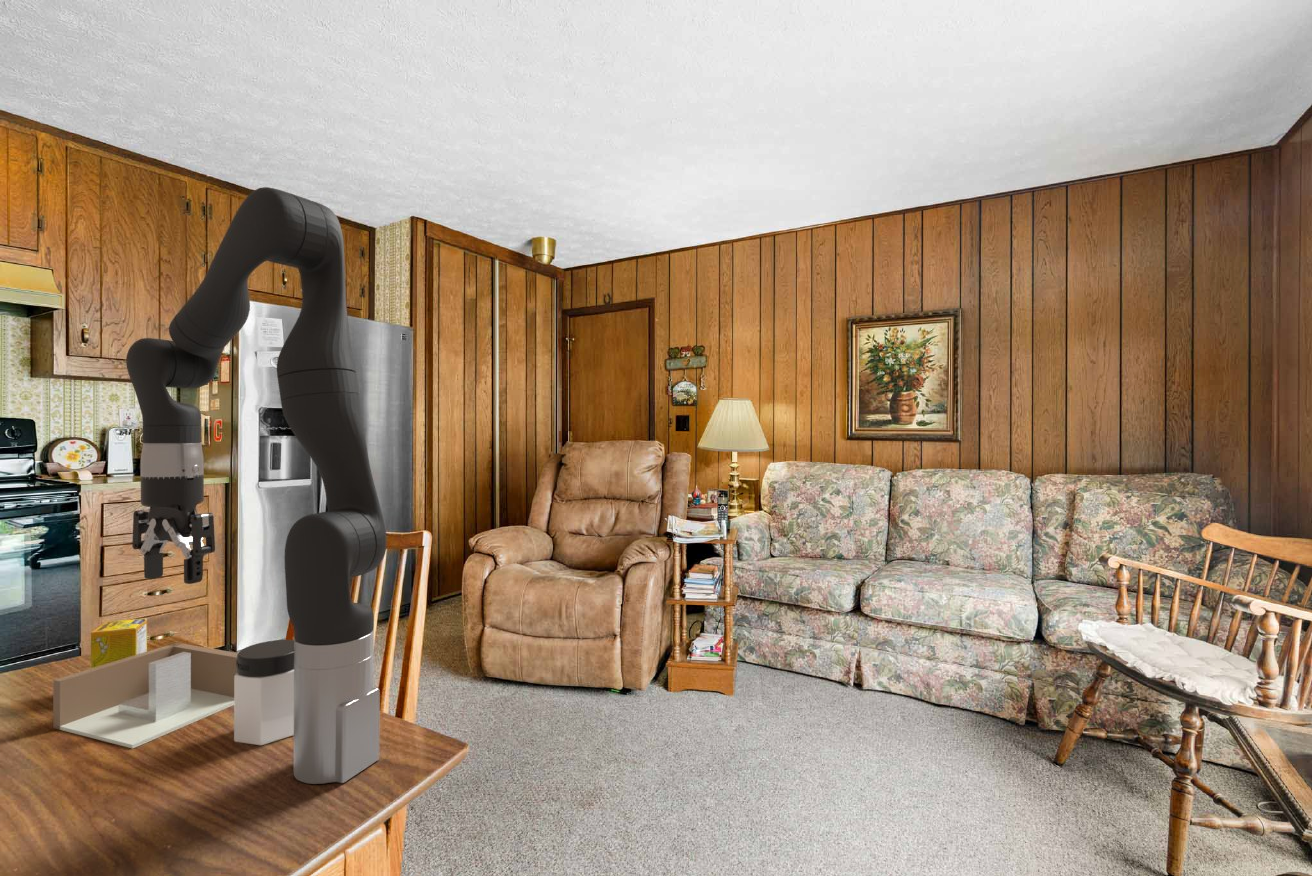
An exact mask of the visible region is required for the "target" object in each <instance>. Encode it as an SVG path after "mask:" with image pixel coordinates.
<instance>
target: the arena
mask: <svg viewBox="0 0 1312 876" xmlns="http://www.w3.org/2000/svg"><path fill="white" fill-rule="evenodd" d="M182 652H188V653H191V708H189V709H187V710H184V711H182V712H179V713H177V714H174V715H172V716H170V717H167V718H165V719H162V720H160V721H157V722H153V721H148V720H144V719H140V718H135V717H131V716H126V715H122V714H119V704H120V703H123V702H125V701H128V700H131V699H134V698H136V697H139V696H142V695H144V694H147V693H149V663H151V662H154V661H157V660H160V659H163V658H166V657H170V656H173V655H176V654H179V653H182ZM238 653H239V652H234V651H228V650H224V649H223V650H222V649H217V648H211V647H204V646H199V645H193V644H187V643H183V642H182V643H181V642H174V643H170V644H167V645H164V646H162V647H161V646H160V647H158V648H157V647H156V648H154V649H152V650H147V652H144V653H141V654H137V655H134V656H131V657H127V658H124V659H121V660H118V661H114V662H111V663H108V664H104V665H101V666H98V667H95V668H91V667H90V668H89V669H84V670H82V671H78V672H76V673H72V674H68V675H66V676H61V677H58V678H56V679H53V681H52V682H53V683H52V685H53V686H52V687H53V689H52V690H53V692H52V693H53V695H52V696H53V697H52V698H53V701H52V704H53V705H52V707H53V709H52V710H53V714H52V715H53V716H52V717H53V719H52V720H53V721H52V722H53V723H52V725H53V726H52V727H53V728H52V729H56V730H60V731H64V732H68V733H71V734H75V735H78V736H82V737H87V738H90V739H95V740H98V741H101V742H105V743H110V744H114V745H116V746H117V745H118V746H120V747H121V746H122V747H125V748H129V749H135V748H137V747H140V746H141V745H144V744H146V743H149V742H151V741H153V740H156V739H158V738H161V737H162V736H165V735H167V734H170V733H173V732H174V731H176V730H179V729H181V728H184V727H187V726H188V725H190V724H193V723H195V722H197V721H200V720H203V719H205V718H207V717H209V716H211V715H213V714H217V713H218V712H221V711H223V710H226V709H228V708H230V707H233V706H234V676H235V675H236V674H237V667H236V662H237V654H238Z"/></svg>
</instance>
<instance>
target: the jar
mask: <svg viewBox="0 0 1312 876" xmlns="http://www.w3.org/2000/svg"><path fill="white" fill-rule="evenodd" d="M237 653H238V654H237V662H236V667H237V674H236V675H235V676H234V705H233V706H234V707H233V722H234V723H233V741H234V742H235V743H241V744H242V743H243V744H248V745H249V744H250V745H253V746H255V745H256V746H265V745H267V744H270V743H274V742H277V741H280V740H283V739H286V738H289V737H294V639H275V640H269V641H264V642H259V643H255V644H252V645H248V646H247V647H244V648H242V649H240V650H239V651H238V652H237Z"/></svg>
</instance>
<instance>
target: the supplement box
mask: <svg viewBox="0 0 1312 876" xmlns="http://www.w3.org/2000/svg"><path fill="white" fill-rule="evenodd" d="M147 651H148V619H147V617H145V618H144V617H143V618H133V619H126V620H124V619H122V620H112V621H105V622H103V623H102V624H101V625H99V626H98V627H97V628H95V629H94V630H92V631H91V632H90V669H91V668H95V667H98V666H101V665H104V664H108V663H111V662H114V661H118V660H121V659H124V658H127V657H131V656H134V655H137V654H141V653H144V652H147Z"/></svg>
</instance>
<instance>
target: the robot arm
mask: <svg viewBox="0 0 1312 876" xmlns="http://www.w3.org/2000/svg"><path fill="white" fill-rule="evenodd" d="M341 227H342V226H341V223H340V221H339V218H338V216H337V215H336V214H335V212H334V211H333V210H332V209H330V208H329V207H328V206H326V205H324V204H322V203H319V202H317V201H314V200H311V199H308V198H306V197H303V196H299V195H297V194H293V193H292V192H291V193H290V192H287V191H285V190H280V189H277V188H274V187H267V186H264V187H259V188H256V189H254V190H253V191H252V192H251V193H249V194H248V195H247V196H246V198H245V199H244V200H243V201H242V203H241V204H240V205H239V207H238V209H237V211H236V212H235V214H234V216H233V218H232V220H231V222H230V223H229V226H228V228H227V230H226V232H225V234H224V236H223V238H222V240H221V241H220V243H219V246H218V248H217V250H216V252H215V255H214V256H213V258H212V259H213V260H212V261H211V264H210V266H209V268H208V270H207V272H206V274H205V275H204V277H203V279H202V281H201V283H200V284H199V285H198V288H197V289H195V291H194V293H193V294H192V295H191V296H190V297H189V298H188V300H187V301H186V302H185V304H184V305H183V306H182V307H181V308H180V309H179V311H178V312H177V313H176V314H175V316H174V317H173V318H172V320H171V321H170V324H169V326H168V334H169V337H170V338H171V339H170V340H169V339H163V338H162V339H161V338H155V337H154V338H153V337H144V338H140V339H138V340H136V341H135V342H133V343H132V344H131V346H130V347H129V349H128V351H127V353H126V360H125V361H126V369H127V373H128V376H129V378H130V382H131V383H132V384H131V385H132V386H133V387H132V388H133V390H134V393H135V395H136V398H137V402H138V404H139V408H140V412H141V416H142V417H141V418H142V448H141V454H140V504H141V506H143V507H146V509H141V510H140V509H139V510H135V511H134V512H133V515H132V516H133V518H132V541H131V542H132V543H131V546H132V549H133V550H139V551H140V554H142V555H143V572H144V573H143V574H144V579H146V580H154V579H158V578H162V577H163V575H164V552H162V551H163V550H164V548H165V546H166V544H167V543H169V542H173V544H174V546H175V547H176V548H179V549H180V551H181V552H182V555H183V556H184V559H183V582H184V583H185V584H187V585H192V584H197V583H200V582H202V580H203V577H204V569H203V568H204V557H205V556H207V554H212V553H215V551H216V542H215V521H214V520H215V518H214V514H213V513H212V512H204V513H198V510H197V506H198V505H199V504H201V503H203V502H204V499H205V495H204V494H205V493H204V491H205V490H204V488H205V485H204V483H205V482H204V481H205V479H204V476H205V475H204V474H205V473H204V471H205V470H204V469H205V468H204V466H205V465H204V464H205V463H204V452H203V447H202V446H203V445H202V413H201V411H200V408H198V407H197V406H195V405H192V404H188V403H185V402H179V401H177V400H175V399H174V398H172V396H171V394H170V393H169V391H168V388H176V389H177V388H178V389H198V388H201V387H204V386H207V385H208V384H209V383H210V382H211V381H213V379H214V378H215V375H216V372H217V369H218V365H219V363H220V360H221V357H222V354H223V353H224V349H225V347H226V346H227V345H228V344H229V343H230V342H231V341H232V340H233V338H235V336H236V335H237V334H238V333H239V332H240V330H241V329H243V327H244V325H245V324H246V322H247V321H248V318H249V314H250V311H251V302H250V292H249V285H248V283H249V281H248V280H249V278H250V276H251V274H252V273H253V272H254V270H255V271H256V269H257V268H258V267H259V266H261V265H262V264H263V263H265V262H270V263H272V264H277V265H281V266H286V267H292V268H296V269H297V270H298V272H299V276H300V284H301V293H302V294H301V297H302V298H301V300H302V301H301V309H300V312H299V315H298V317H297V319H296V321H295V323H294V325H293V327H292V329H291V330H290V332H289V334H288V336H287V338H286V339H285V342H284V343H283V345H282V348H281V350H280V352H279V354H278V358H277V361H276V375H277V384H278V390H279V396H280V403H281V404H280V405H281V410H282V414H283V416H284V417H283V418H284V419H285V421H286V423H287V425H288V427H289V429H290V430H291V431H292V433H293V434H294V436H295V437H296V439H297V440H298V441H299V443H300V444H301V446H302V447H303V450H305V451H306V453H307V454H308V456H309V457H310V458H311V460H312V462H313V463H314V464H315V466H316V468H317V471H318V472H319V475H320V476H321V477H320V478H321V479H322V483H323V484H322V485H323V488H324V492H325V498H326V506H327V511H322V512H317V513H311V514H308V515H305V516H303V517H301V518H299V519H298V520H297V521H295V522H294V524H293V525H292V526H291V528H290V529H289V532H288V534H287V537H286V540H285V541H286V542H285V545H284V546H285V547H284V575H285V594H286V607H287V608H286V609H287V614H288V617H289V620H290V623H291V624H292V627H293V640H294V735H293V777H294V778H295V779H296V780H297V781H299V782H301V783H305V784H310V785H311V784H313V785H317V784H319V785H320V784H322V785H323V784H328V783H340V784H344V783H347V781H349V780H350V779H351V778H354V777H355V776H356V775H358V774H359V773H361V772H362V771H363V770H365V769H367V768H368V767H369V766H370V767H371V765H373V764H374V763H376V762H377V761H378V760H380V705H381V703H380V702H381V701H380V697H381V696H380V695H381V693H380V688H377V687H374V650H375V649H374V647H375V645H374V644H375V643H374V642H375V640H374V639H375V638H374V635H375V634H374V633H375V631H374V630H375V629H374V627H375V622H374V621H375V617H374V611H373V609H372V608H371V607H370V606H369V605H367V604H365V603H364V604H363V603H360V602H353V601H352V597H351V586H350V585H351V584H350V583H351V582H350V579H354V578H356V577H359V576H362V575H365V574H368V573H370V572H372V571H373V570H375V569H377V567H379V566H380V564H381V563H382V562H383V560H384V557H385V554H386V550H387V541H388V540H387V529H386V525H385V520H384V516H383V512H382V509H381V503H380V501H379V496H378V493H377V489H376V486H375V482H374V481H375V480H374V478H373V477H374V476H373V473H372V470H371V465H370V460H369V454H368V453H369V452H368V448H367V447H368V446H367V440H366V436H365V435H366V434H365V430H364V424H363V418H362V411H361V401H360V393H359V384H358V378H357V371H356V370H357V369H356V367H355V361H354V360H355V359H354V355H353V350H352V349H353V348H352V343H351V342H352V341H351V333H350V326H349V325H350V324H349V318H348V308H347V290H346V289H347V288H346V265H345V244H344V235H343V231H342V228H341ZM147 507H148V508H149V509H147ZM142 534H144V535H143V537H142ZM204 538H205V545H204V543H203V541H202V540H203V539H204ZM142 539H143V540H142ZM191 546H192V548H191Z"/></svg>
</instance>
